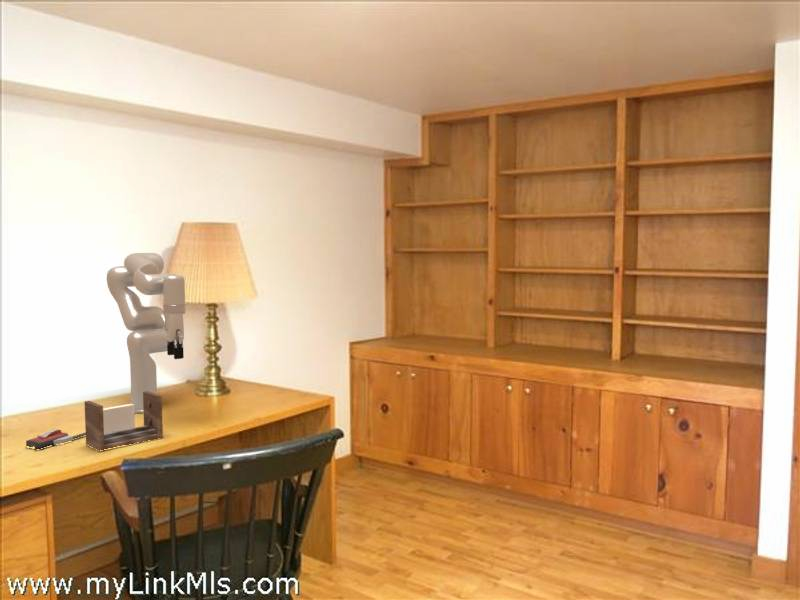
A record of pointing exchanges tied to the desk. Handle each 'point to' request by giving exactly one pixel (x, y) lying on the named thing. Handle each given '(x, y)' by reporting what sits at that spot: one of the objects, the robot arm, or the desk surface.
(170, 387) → the desk surface
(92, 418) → the brown wooden book rack
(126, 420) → the door panel
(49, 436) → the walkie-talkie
